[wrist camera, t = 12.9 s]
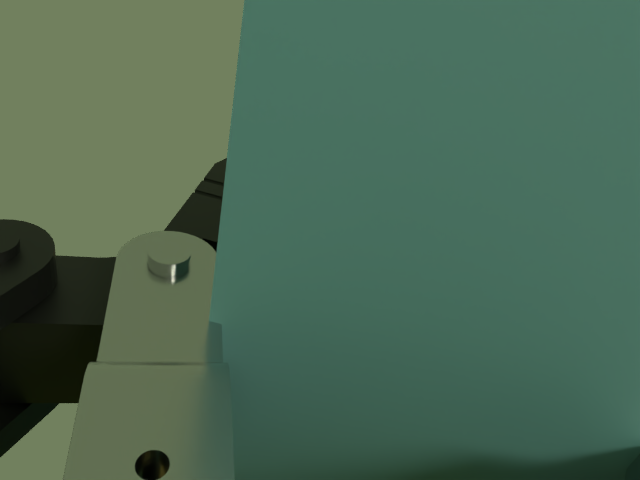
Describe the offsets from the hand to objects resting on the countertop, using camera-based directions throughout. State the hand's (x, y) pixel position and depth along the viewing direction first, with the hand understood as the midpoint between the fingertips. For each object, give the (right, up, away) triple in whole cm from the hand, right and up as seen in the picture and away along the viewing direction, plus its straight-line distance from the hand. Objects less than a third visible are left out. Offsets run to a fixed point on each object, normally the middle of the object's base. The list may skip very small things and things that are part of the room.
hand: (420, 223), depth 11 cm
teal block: (-2, -8, +3) cm, 9 cm away
